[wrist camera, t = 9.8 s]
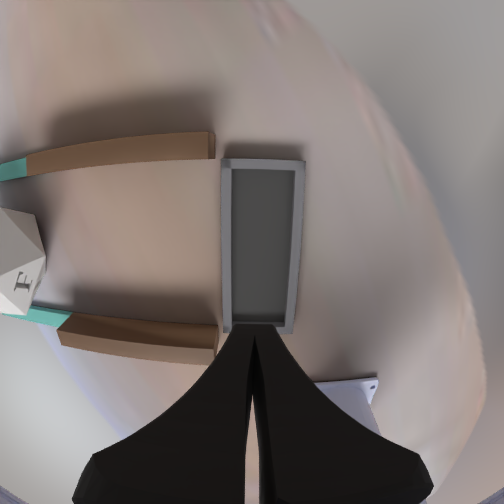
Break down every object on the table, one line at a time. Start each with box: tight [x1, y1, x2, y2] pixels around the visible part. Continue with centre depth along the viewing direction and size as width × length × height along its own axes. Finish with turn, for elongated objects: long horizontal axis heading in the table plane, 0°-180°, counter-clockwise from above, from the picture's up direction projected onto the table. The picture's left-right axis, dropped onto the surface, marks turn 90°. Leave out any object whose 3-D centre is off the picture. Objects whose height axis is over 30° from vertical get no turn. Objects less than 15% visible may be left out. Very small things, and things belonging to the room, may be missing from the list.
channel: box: [26, 131, 219, 365], centre depth 18 cm, size 15×13×3 cm
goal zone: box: [0, 158, 73, 327], centre depth 19 cm, size 15×14×1 cm
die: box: [0, 207, 46, 315], centre depth 16 cm, size 8×9×10 cm
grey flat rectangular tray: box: [221, 159, 306, 334], centre depth 19 cm, size 12×5×1 cm, turn 179°
